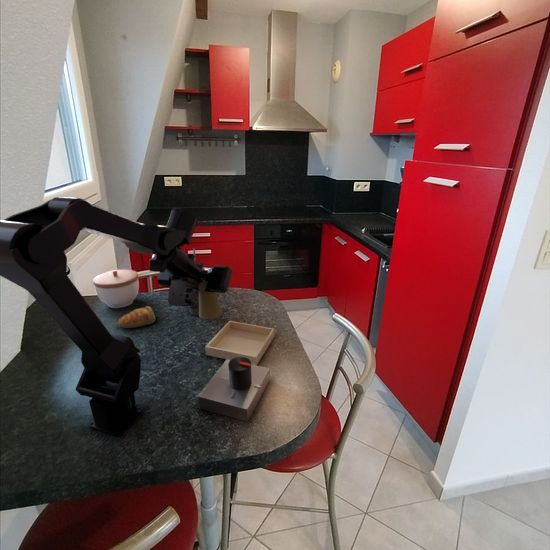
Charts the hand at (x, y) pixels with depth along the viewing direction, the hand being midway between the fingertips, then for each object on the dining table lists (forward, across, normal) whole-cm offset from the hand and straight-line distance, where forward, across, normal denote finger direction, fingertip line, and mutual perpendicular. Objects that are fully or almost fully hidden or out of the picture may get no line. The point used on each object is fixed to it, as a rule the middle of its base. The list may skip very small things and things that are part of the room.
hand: (210, 290), depth 84 cm
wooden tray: (+5, +10, -12) cm, 17 cm away
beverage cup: (+12, -10, -3) cm, 16 cm away
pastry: (+4, -22, -10) cm, 24 cm away
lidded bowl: (+8, -36, -4) cm, 37 cm away
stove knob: (-8, +18, -21) cm, 29 cm away
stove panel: (-5, +17, -24) cm, 30 cm away
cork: (+4, 0, -6) cm, 7 cm away
